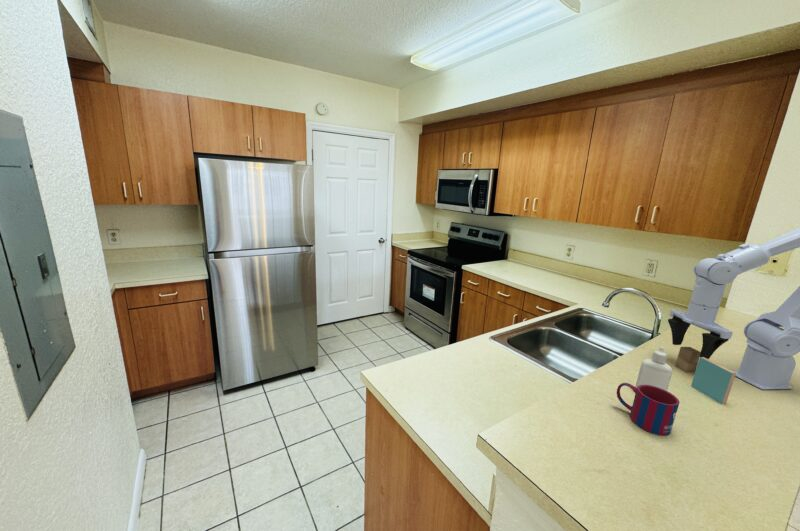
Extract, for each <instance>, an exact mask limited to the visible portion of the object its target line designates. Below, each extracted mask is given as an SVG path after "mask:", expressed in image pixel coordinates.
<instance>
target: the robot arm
mask: <svg viewBox="0 0 800 531" xmlns="http://www.w3.org/2000/svg"><path fill="white" fill-rule="evenodd" d="M799 248H800V226H799V227H796V228H794V229H792V230H790V231H788V232H786V233H784V234H782V235H779V236H777V237H775V238H773V239H769V240H767V241H766V242H763V243H761V244H755V243H743V244H740V245H738V248H735V249H733V250H731V251H728V252H726V253H719V254H717V256H716V257H715V258H713V257H711V258H710V257H707V258H704V259H701V260H700V261H699V262H698V263H697V264H696V265H695V266H693V267H692V268H693V274H694V275H695V279H694V280H695V281H694V282H695V283H694V286H693V290H692V293H691V296H690V300H689V303H688V305H687V306H688V307H687V310H686V312H684V311H681V310H679V309H670V310H669V314H668V315H669V317H671V318H668V319H667V322H668V324H669V327H670V331H671V337H672V338H671V339H672V341H671V342H672V345H673V346H682V343H683V341H684V338H685V335H686V332H687V331H688V330H689V327H690V326H691V325H692V326H695V327H697V328H700V329H702V330H703V331H704V330H705V331H707V332H702V334H701V335H702V346H701V349H700V352H701V353H700V357H705V358H707V359H709V360H710V358H711V357H712V356H713V354H714V353H715V352H716V351H717V349H719V348H720V347H721V346H722V345H724V344H725V343H727V342H728V341H730V340H731V339H732V336H733V333H734V332H733V331H732V330H729V329H728V328H726V327H724V326H722V325H720V324H718V323H717V322H716V319H717V316H718V313H719V309H720V305H721V303H722V299H723V296H724V294H725V290H726V286H727V284H730V283H732V282H733V281H735V279H736V278H737V277H738V276H739V275H741V274H743V273H746V272H749V271H751V270H754V269H757V268H759V267H762V266H764V265H767V264H768V263H769V261H770V259H771V257H775V256H777V255H780V254H784V253H787V252H789V251H792V250H795V249H799ZM743 335H744V337H745V338H746V344H747V345H746V347H745V350H744V352H743V355H742V360H741V362H740V364H739V368H738V370H732V371H733V372H735V373H736V375H735V378H739V379H741V380H742V381H744V382H746V383H749V384H750V385H753V386H754V387H755V388H758V389H760V390H789V389H790V390H792V389H793V386H791V385H789V384H790V381H791V379H792V377H793V373H794V371H795V369H796V366H797V362H796V360H795V357H794V356H796V355H797V354H799V353H800V285H799V286H798V287H797V289H795V290H794V291H793V292H792V293H791V295H789V297H787V298H786V299H785V301H783V303H782V304H781V305H780V306H779V307H778V308H777V309H776V310H774V311H770V312H769V311H768V312H765V313H761V315H759V316H758V317H757V318H755V319H754V320H753V319H752V320H751V321H749V322H747V324H745V326H744V327H743Z"/></svg>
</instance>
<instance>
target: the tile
mask: <svg viewBox="0 0 800 531" xmlns="http://www.w3.org/2000/svg"><path fill="white" fill-rule="evenodd" d="M733 371H734V370H731V369H728V367H725V366H723V365H720V364H718V363H717V362H714V361H712V360H711V359H710V358H709V359H707V358H705V357H700V358H699V361H698V364H697V368H696V371H695V372H694V376H693V378H692V381H691V385H690V386H691V387H692V388H694V389H696V390H697V391H698V392H700V393H702V394H703V395H705V396H706V397H709V398H710V399H712V400H713V401H715V402H716V403H719V404H721V405H726V404H727V401H728V398H729V396H730V393H731V389H732V387H733V384H734V381H735V378H736V376H735V375H736V373H735V372H733Z"/></svg>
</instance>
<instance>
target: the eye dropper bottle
mask: <svg viewBox="0 0 800 531" xmlns="http://www.w3.org/2000/svg"><path fill="white" fill-rule="evenodd" d="M667 357H668V354H667V353H666V352H665V347H663V346H660V347H659V348H658V349H656V350H654V351H653V352H652V357H651V358H646V359H643V360H642V361H641V364H640V366H639V367H640V368H639V370H638V371H639V372H638V375H637V378H636V382H635V387H636V388H637V387H638V386H639V385H651V386H655V387H658V388H661V389H664V390H666V391H668V389H669V386H670V383H671V382H670V381H671V379H672V374H673V369H672V367H671V366H670V365H669V364H667V363H666V361H667Z"/></svg>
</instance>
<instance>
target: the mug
mask: <svg viewBox="0 0 800 531" xmlns="http://www.w3.org/2000/svg"><path fill="white" fill-rule="evenodd" d="M622 387H628V388H630V389H631V390H632V392H634V399H633V402H632V405H629V404H628V403H627V402H626V401H625V400H624V399H623V398H622V395H621V388H622ZM616 397H617V399H618V401H619V402H620V403H621V405H623V406H624V407H625V408H626V409H627V410H628V411H630V413H629V414H630V415H629V417H630V420H631V422H632V423H633V424H634V425H636V426H637V427H638V428H641V429H642V430H644V431H646V432H648V433H651V434H653V435H657V436H668V435H670V434H671V433H672V429H673V426H674V422H675V420H676V417H677V416H676V415H677V413H678V409H679V405H680V400H679V398H678V397H677V396H675V395H674V394H673V393H671V392H669V391H668V390H667V391H666V390H664V389H661V388H658V387H655V386H651V385H639V386H638V387H637V388H636V386H634V385H633V384H630V383H628V382H621V383H620V384H619V385H618V386H617V389H616Z"/></svg>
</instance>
